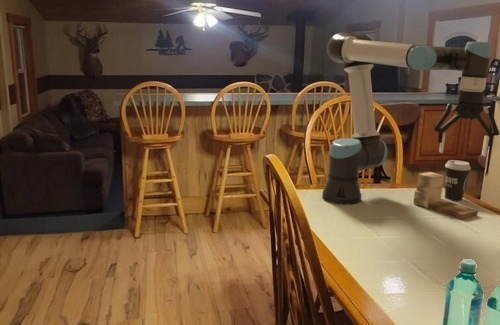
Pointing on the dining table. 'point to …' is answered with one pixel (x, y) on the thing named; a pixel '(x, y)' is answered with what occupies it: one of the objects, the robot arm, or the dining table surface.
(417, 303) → the dining table surface
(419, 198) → the tan block with peg
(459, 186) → the coffee cup
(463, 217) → the plank
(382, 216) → the dining table surface
